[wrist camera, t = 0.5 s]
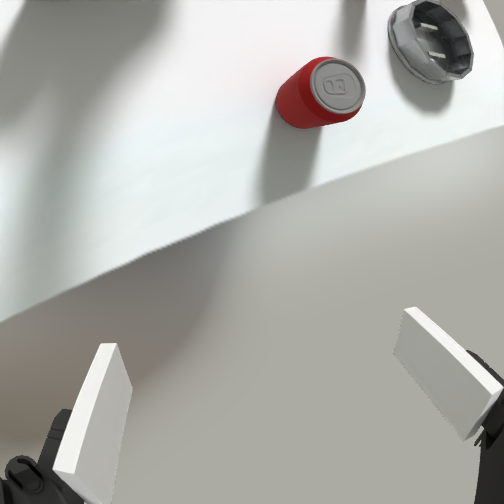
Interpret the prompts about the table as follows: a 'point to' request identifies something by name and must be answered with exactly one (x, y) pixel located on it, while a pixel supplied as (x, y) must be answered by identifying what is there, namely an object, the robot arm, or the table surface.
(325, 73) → the beverage can
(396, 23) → the tin
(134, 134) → the table surface
